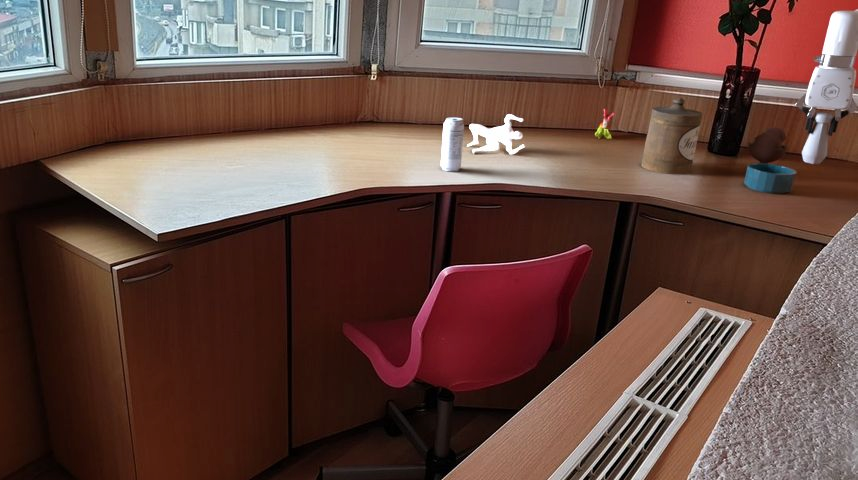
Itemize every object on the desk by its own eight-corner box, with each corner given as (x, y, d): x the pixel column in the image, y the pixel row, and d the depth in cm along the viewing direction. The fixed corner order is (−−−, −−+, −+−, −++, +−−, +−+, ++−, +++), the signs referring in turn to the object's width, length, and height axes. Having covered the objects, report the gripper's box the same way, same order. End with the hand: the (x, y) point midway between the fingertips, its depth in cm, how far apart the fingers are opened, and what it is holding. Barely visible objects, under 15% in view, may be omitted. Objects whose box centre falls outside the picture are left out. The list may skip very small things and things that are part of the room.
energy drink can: (454, 166, 217) (458, 116, 212) (464, 171, 212) (468, 120, 207) (436, 167, 215) (440, 117, 209) (446, 172, 210) (449, 121, 204)
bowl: (790, 187, 211) (796, 167, 209) (791, 197, 200) (797, 176, 198) (744, 180, 216) (748, 161, 214) (742, 190, 205) (747, 169, 203)
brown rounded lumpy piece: (752, 169, 230) (763, 122, 225) (787, 177, 222) (799, 129, 216) (734, 173, 224) (745, 125, 219) (769, 181, 216) (782, 132, 210)
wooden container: (689, 177, 217) (704, 104, 208) (638, 170, 222) (651, 98, 214) (692, 167, 229) (706, 97, 221) (644, 160, 235) (656, 92, 227)
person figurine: (467, 119, 230) (523, 112, 229) (463, 121, 243) (516, 113, 242) (471, 160, 232) (527, 152, 231) (468, 159, 245) (520, 152, 244)
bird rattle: (591, 141, 269) (595, 136, 260) (595, 112, 270) (598, 106, 261) (609, 143, 268) (613, 138, 259) (612, 113, 269) (616, 107, 260)
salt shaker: (819, 165, 188) (832, 116, 183) (796, 161, 192) (808, 112, 187) (827, 162, 191) (840, 113, 186) (804, 158, 195) (816, 110, 190)
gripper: (799, 61, 182) (783, 133, 189) (877, 66, 175) (857, 140, 182) (799, 58, 188) (783, 128, 195) (874, 63, 181) (855, 135, 188)
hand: (819, 133), depth 189 cm, fingers closed on salt shaker, 4 cm apart
